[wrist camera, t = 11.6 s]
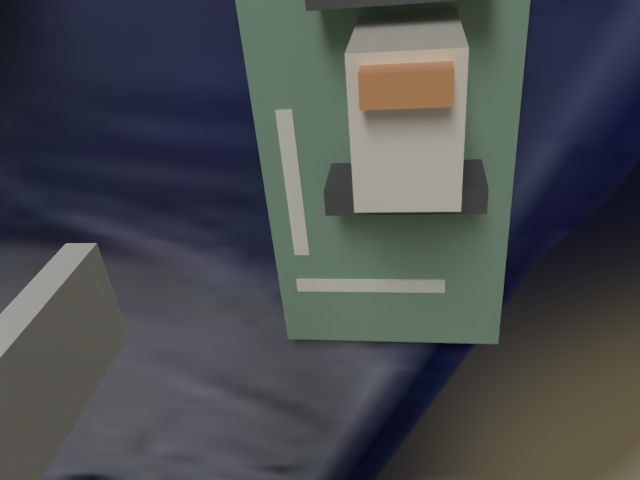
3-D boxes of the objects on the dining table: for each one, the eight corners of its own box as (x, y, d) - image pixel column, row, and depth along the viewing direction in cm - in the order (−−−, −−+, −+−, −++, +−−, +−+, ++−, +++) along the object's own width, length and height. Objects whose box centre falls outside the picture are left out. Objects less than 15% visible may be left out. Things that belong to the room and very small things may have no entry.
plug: (365, 150, 27) (351, 225, 21) (358, 16, 24) (341, 62, 18) (452, 147, 27) (463, 225, 21) (457, 10, 24) (471, 55, 18)
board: (290, 327, 35) (278, 375, 32) (236, -33, 25) (209, -18, 21) (495, 332, 33) (505, 383, 30) (531, -58, 23) (551, -46, 19)
